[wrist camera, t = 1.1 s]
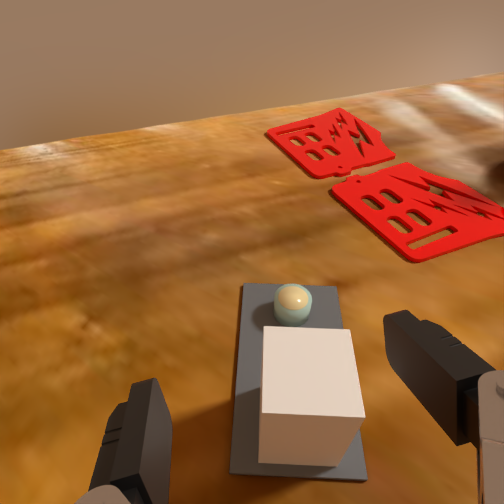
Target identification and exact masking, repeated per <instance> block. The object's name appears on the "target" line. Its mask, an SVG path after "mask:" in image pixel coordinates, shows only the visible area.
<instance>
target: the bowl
mask: <svg viewBox="0 0 504 504" xmlns="http://www.w3.org/2000/svg"><path fill="white" fill-rule="evenodd" d="M311 304H312V296H311V294H310V292H309V291H308V290H307V289H306V288H304V287H303V286H301V285H298V284H286V285H283V286H281V287H280V288H278V289H277V291H276V292H275V296H274V307H273V314H274V317H275V319H276V320H277V321H278V322H279V323H280V324H282V325H284V326H287V327H299V326H301V325H303V324H305V323H306V322H307V320H308V318H309V314H310V309H311Z"/></svg>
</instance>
